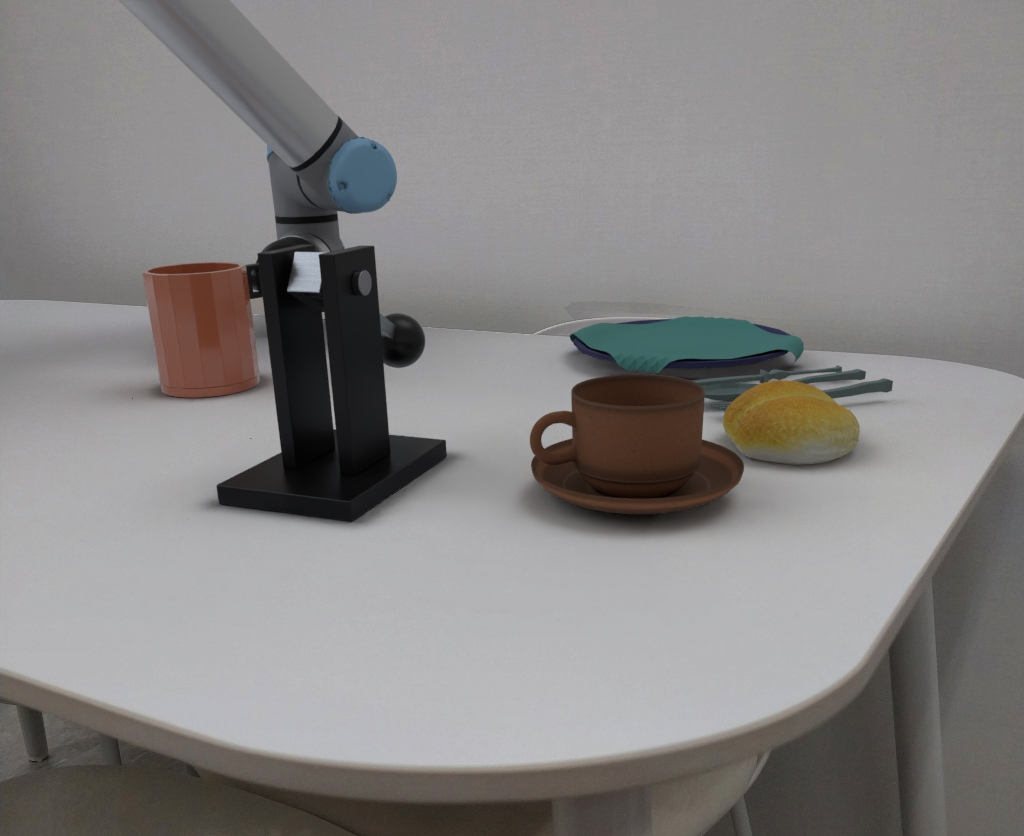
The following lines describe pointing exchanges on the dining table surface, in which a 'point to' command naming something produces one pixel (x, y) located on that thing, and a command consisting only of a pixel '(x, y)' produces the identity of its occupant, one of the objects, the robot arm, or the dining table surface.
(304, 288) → the lever
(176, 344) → the cup
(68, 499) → the dining table surface
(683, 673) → the dining table surface
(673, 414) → the cup and saucer
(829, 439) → the bread roll
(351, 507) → the black stand
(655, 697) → the dining table surface
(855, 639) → the dining table surface
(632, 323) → the cutlery set
